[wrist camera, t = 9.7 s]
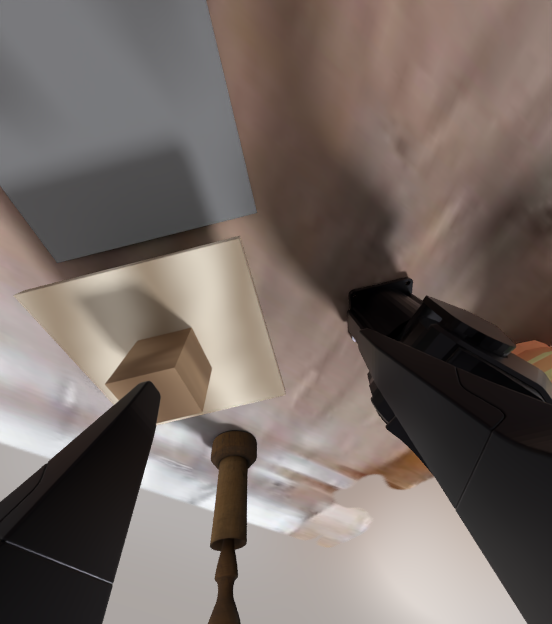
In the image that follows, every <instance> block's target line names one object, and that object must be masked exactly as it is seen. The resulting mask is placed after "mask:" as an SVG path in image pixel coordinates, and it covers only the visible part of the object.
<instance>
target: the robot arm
mask: <svg viewBox="0 0 552 624" xmlns="http://www.w3.org/2000/svg"><path fill="white" fill-rule="evenodd" d="M407 281H408V283H407V284H406V282H407ZM412 286H413V280H412V279H410V278H408V277H405V278H401V279H397V280H393V281H389V282H385V283H381V284H376V285H372V286H368V287H364V288H360V289H356V290H352V291H351V292H350V293H349V308H350V310H349V311H348V312H347V315H348V330H349V332H350V333H351V338H352V340H353V341H355V342H357V343H358V347H359V351H360V353H361V355H362V357H363V359H364V361H365V363H366V365H367V367H368V369H369V373H368V374H367V375H368V379H369V383H370V385H369V387H370V390H371V393H372V397H371V401H372V404H373V405H374V407H375V409H376V411H377V412H378V414H379V416H380V417H381V418H382V420H383V421H384V422H385V423H386V424H387V425H386V429H387V430H388V431H390V432H391V433H392V434H394V435H395V436H396V437H398V438H399V439H400V440H402V441H403V442H404V443H405V444H406V445H407V446H408V447H409V448H410V449H411V450H412V451H413V452H414V453H415V454H416V455H417V456H418V458H419V459H420V460H421V461H422V462H423V463H424V465H425V466H426V467H427V468H428V469H429V471H430V472H431V473H432V474H433V475H434V477H435V478H436V480H437V481H438V483H439V484H440V486H441V488H442V489H443V491H444V492H445V494H446V496H447V497H448V498H449V500H450V502H451V503H452V505H453V507H454V508H455V509H456V512H457V513H458V515H459V516H460V518H461V520H462V521H463V523H464V524H465V526H466V527H467V529H468V531H469V532H470V534H471V535H472V537H473V539H474V540H475V542H476V543H477V545H478V546H479V548H480V550H481V551H482V553H483V554H484V556H485V558H486V559H487V561H488V562H489V564H490V565H491V567H492V569H493V570H494V572H495V573H496V575H497V576H498V578H499V580H500V581H501V583H502V584H503V586H504V587H505V589H506V591H507V592H508V594H509V595H510V597H511V598H512V600H513V602H514V603H515V605H516V606H517V608H518V610H519V611H520V613H521V614H522V616H523V618H524V619H525V621H526V622H527V624H552V383H551V381H550V380H549V378H548V377H547V375H546V374H545V373H544V372H543V371H542V370H540V369H539V368H537V367H535V366H534V365H532V364H530V363H528V362H527V361H525V360H523V359H522V358H520V357H518V356H516V355H515V354H513V353H511V352H512V351H513V350H514V349H515V348H516V347H517V346H516V345H515V344H514V343H513V342H512V341H511V340H510V339H509V338H508V337H507V336H506V335H505V334H504V333H503V332H502V331H501V330H500V329H499V328H498V327H497V326H495V325H493V324H492V323H490V322H488V321H486V320H484V319H482V318H480V317H478V316H476V315H474V314H472V313H470V312H468V311H466V310H463V309H461V308H458V307H456V306H453V305H450V304H448V303H445V302H443V301H440V300H437V299H435V298H432V297H429V296H427V295H426V297H425V298H424V299H423V301H422V300H420V299H419V298H417V297H416V296H414V295H413V294H412ZM354 294H356V295H355V296H354V297H353V295H354ZM160 400H161V395H160V392H159V391H158V390H157V388H156V387H155V385H154V384H153V383H152V382H151V381H145V382H141V383H139V384H138V385H137V386H135V387H134V388H133V389H132V390H131V391H130V392H128V393H127V394H126V395H125V396H124V397H123V398H121V399H120V400H119V401H118V402H117V403H116V404H115V405H113V406H112V407H111V408H110V409H109V410H108V411H106V412H105V413H104V414H103V415H102V416H101V417H99V418H98V419H97V420H96V421H95V422H94V423H92V424H91V425H90V426H89V427H88V428H87V429H85V430H84V431H83V432H82V433H81V434H80V435H79V436H77V437H76V438H75V439H74V440H73V441H72V442H70V443H69V444H68V445H67V446H66V447H65V448H63V449H62V450H61V451H60V452H59V453H58V454H56V455H55V456H54V457H53V458H52V459H51V460H50V461H48V463H47V464H45V465H44V466H42V467H41V468H40V469H39V470H38V471H37V472H36V473H34V474H33V475H32V476H31V477H30V478H28V479H27V480H26V481H25V482H24V483H23V484H21V485H20V486H19V487H18V488H17V489H15V490H14V491H13V492H12V493H11V494H9V495H8V496H7V497H6V498H4V499H3V500H2V501H1V502H0V624H102V622H103V619H104V615H105V611H106V608H107V604H108V601H109V597H110V593H111V590H112V583H113V582H114V578H115V575H116V571H117V568H118V564H119V561H120V557H121V553H122V549H123V546H124V543H125V538H126V535H127V532H128V528H129V524H130V521H131V517H132V514H133V510H134V506H135V503H136V499H137V496H138V492H139V489H140V485H141V481H142V478H143V474H144V470H145V467H146V463H147V460H148V456H149V452H150V449H151V445H152V442H153V438H154V434H155V429H156V423H157V418H158V412H159V406H160Z"/></svg>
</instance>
